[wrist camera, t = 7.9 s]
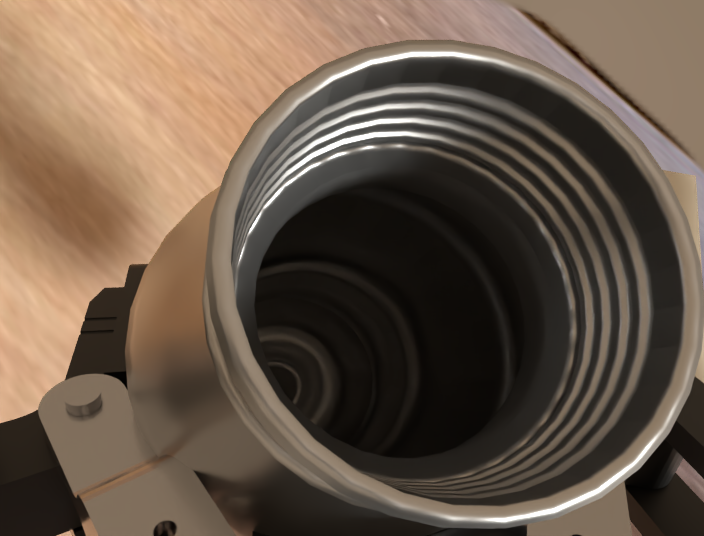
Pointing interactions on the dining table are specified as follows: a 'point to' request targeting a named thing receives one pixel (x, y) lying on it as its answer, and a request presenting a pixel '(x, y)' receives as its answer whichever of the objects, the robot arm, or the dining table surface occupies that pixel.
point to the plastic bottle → (420, 303)
